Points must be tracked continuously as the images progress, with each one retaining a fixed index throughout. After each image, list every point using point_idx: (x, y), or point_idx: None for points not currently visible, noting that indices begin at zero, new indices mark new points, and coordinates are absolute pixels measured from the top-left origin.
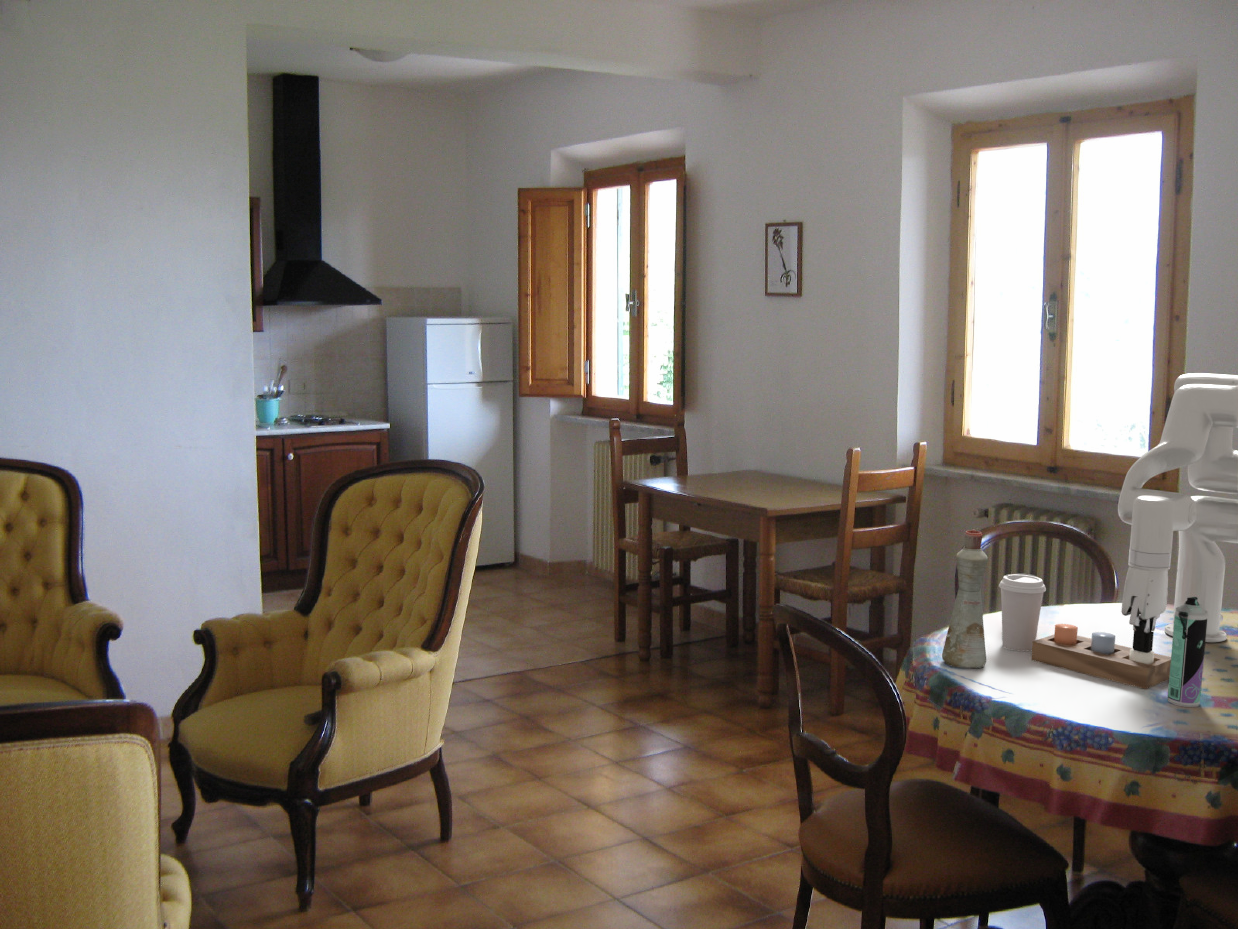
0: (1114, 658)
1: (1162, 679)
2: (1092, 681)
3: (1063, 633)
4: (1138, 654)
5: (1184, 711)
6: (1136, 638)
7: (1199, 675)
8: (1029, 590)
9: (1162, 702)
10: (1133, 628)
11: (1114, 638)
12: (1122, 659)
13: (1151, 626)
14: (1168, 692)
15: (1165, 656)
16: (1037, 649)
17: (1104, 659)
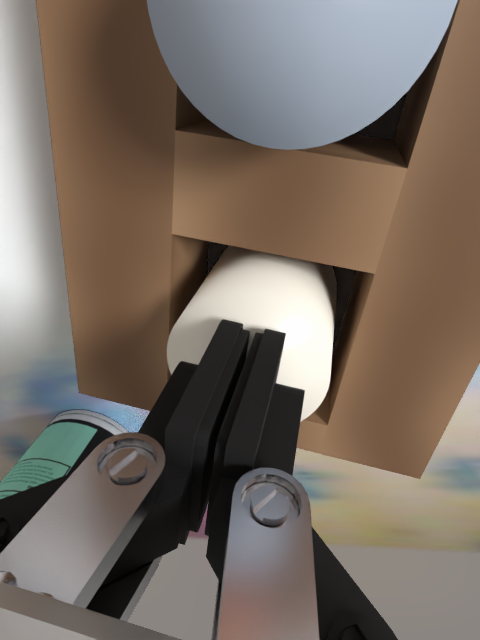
0: (116, 197)
1: None
2: (27, 91)
3: None
4: (170, 355)
5: (18, 453)
6: (156, 405)
7: None
8: None
9: (36, 399)
10: (94, 451)
11: (285, 146)
12: (141, 248)
13: (217, 600)
14: (47, 433)
15: (422, 438)
16: None
17: (53, 139)
